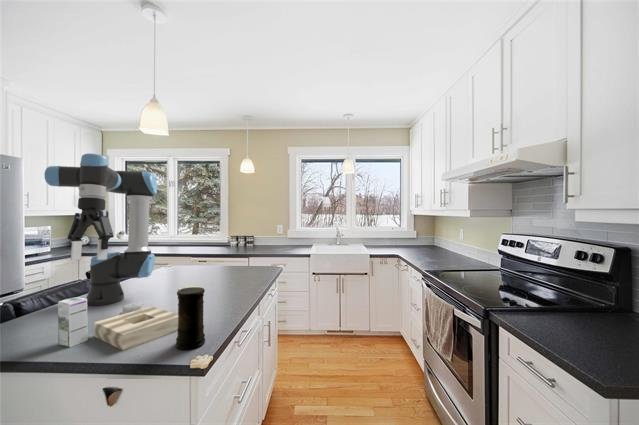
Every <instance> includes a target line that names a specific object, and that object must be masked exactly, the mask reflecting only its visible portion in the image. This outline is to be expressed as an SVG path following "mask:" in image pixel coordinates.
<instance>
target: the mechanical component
mask: <svg viewBox="0 0 639 425" xmlns="http://www.w3.org/2000/svg"><path fill="white" fill-rule="evenodd" d="M144 308H145V305H144V303H143V302H136V303H135V302H133V303H129V304H126V305H124V306H123V307H122V312H120V313H119V314H118V316H119V315H122V314H126V313H130V312H133V311H137V310H141V309H144Z"/></svg>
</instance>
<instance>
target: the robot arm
mask: <svg viewBox="0 0 639 425" xmlns="http://www.w3.org/2000/svg"><path fill="white" fill-rule="evenodd" d="M108 165H109V161H108V158H107V157H106V156H105V155H102V154H97V153H84V154H82V155H81V159H80V163H79V166H65V165H64V166H63V165H51V166H47V167H46V168H45V171H44V180H45V183H46V184H48V185H49V186H51V187H59V188H60V187H61V188H62V187H64V188H65V187H68V188H78V197H79V198H78V199H77V200H78V201H77V209H79V210H81V212H75V213H74V219H73V222H72V225H71V227H70V230H69V232H68V235H67V237H66V238H67V240H70V241H71V248H70V249H71V253H70V261H79V260H82V248H83V239H82V238H83V236H85V233H86V231H87V230H88V229H89V227H91V226H93V228H94V230H95V233H96V234H97V236H98V238H97V251H96V255H94V256H92V257H91V259H90V266H89V268H90V271H89V272H90V277H89V278H90V280H89V281H90V286H89V290H88V292H87V294H86V298H85V299H87V306H104V305H110V304H114V303H119V302H120V301H123V300H124V299H125V293H124V290H123V288H122V285H121V280H123V279H142V278H149V277H150V276H152V273H153V271H154V268H155V264H156V256H155V254H154V253H152V249H151V248H149V227H150V225H149V224H150V201H151V200H153V198H154V195H157V193H158V183H157V180H156V179H157V178H156V176H155V175H154V173H152V172H151V171H143V170H141V171H140V170H137V171H136V170H133V171H132V170H130V171H129V170H114V169H113V168H110V167H109V166H108ZM107 192H108V193H114V194H121V195H123V194H124V195H126V198H127V199H128V200H129V215H128V217H129V220H128V235H127V236H128V240H127V248H126V249H125V250H124V251H123V254H121V253H120V252H119V251H113V252H108V248H109V240H110V239H112V238H114V237H115V236H114V231H113V229H112V225H111V222H110V221H111V220H110V217H109V211H108V210H105V209H106V200H105V199H106V197H107Z"/></svg>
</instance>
